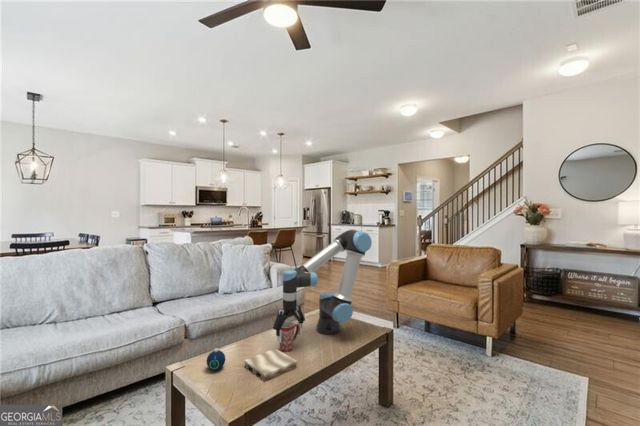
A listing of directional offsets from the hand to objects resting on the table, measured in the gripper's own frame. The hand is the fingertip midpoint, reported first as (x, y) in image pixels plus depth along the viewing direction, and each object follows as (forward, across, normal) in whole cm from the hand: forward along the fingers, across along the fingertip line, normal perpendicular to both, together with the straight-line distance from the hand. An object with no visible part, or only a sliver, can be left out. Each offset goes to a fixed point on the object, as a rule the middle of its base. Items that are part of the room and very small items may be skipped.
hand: (289, 338), depth 167 cm
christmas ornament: (+6, +39, -6) cm, 40 cm away
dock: (+5, +19, +10) cm, 22 cm away
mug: (+6, 0, 0) cm, 6 cm away
